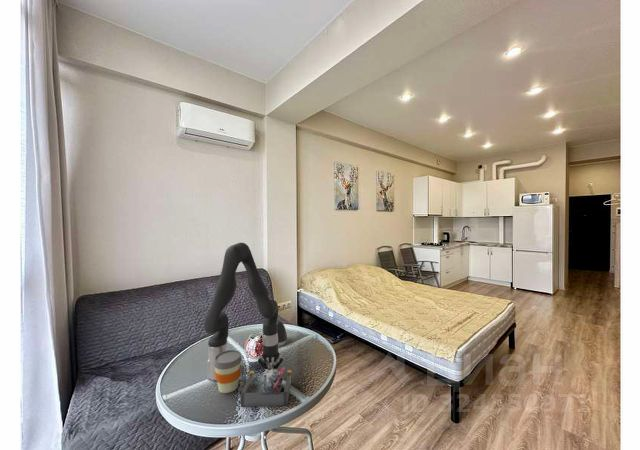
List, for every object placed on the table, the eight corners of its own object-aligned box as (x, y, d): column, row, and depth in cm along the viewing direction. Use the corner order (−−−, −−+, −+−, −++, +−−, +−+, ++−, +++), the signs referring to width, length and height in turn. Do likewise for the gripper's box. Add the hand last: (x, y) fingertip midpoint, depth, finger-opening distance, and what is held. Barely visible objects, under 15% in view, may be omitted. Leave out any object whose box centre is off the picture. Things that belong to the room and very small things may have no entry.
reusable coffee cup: (214, 398, 115) (214, 366, 115) (214, 382, 127) (213, 353, 127) (243, 391, 120) (243, 359, 120) (240, 376, 132) (239, 347, 132)
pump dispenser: (281, 339, 173) (280, 316, 173) (290, 344, 165) (289, 321, 165) (268, 344, 166) (267, 321, 166) (276, 350, 158) (276, 325, 158)
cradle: (240, 406, 110) (240, 393, 110) (250, 382, 127) (250, 370, 127) (287, 405, 110) (287, 392, 110) (291, 381, 127) (291, 370, 127)
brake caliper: (285, 398, 115) (284, 372, 114) (260, 400, 114) (259, 374, 113) (286, 381, 126) (285, 358, 125) (263, 383, 125) (262, 360, 125)
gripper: (255, 346, 122) (256, 381, 122) (282, 345, 122) (283, 380, 122) (258, 338, 129) (259, 372, 130) (284, 337, 129) (285, 371, 130)
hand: (271, 376), depth 126 cm, fingers closed
